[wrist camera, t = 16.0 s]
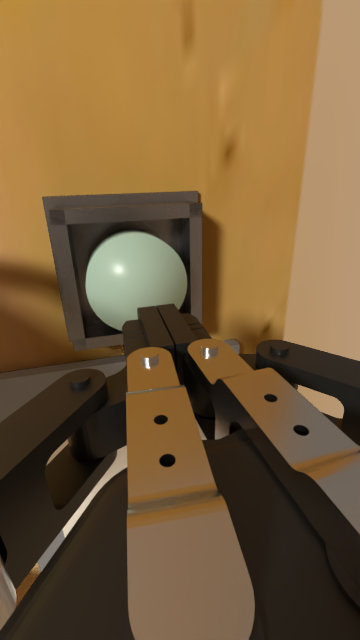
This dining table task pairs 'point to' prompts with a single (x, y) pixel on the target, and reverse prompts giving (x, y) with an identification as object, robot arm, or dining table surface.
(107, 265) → the button
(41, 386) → the drawing board
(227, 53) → the dining table surface
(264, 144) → the dining table surface
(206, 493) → the robot arm
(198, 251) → the button housing
